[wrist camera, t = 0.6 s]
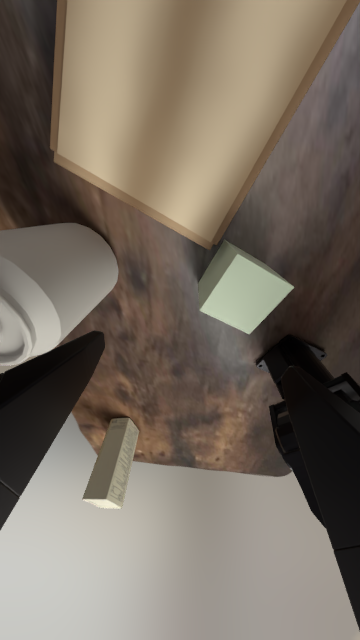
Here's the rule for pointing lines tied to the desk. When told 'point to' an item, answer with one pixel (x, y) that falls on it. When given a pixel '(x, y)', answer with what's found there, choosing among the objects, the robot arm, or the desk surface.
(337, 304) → the desk surface
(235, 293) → the green block
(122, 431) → the skincare box
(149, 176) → the base slab
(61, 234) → the can
